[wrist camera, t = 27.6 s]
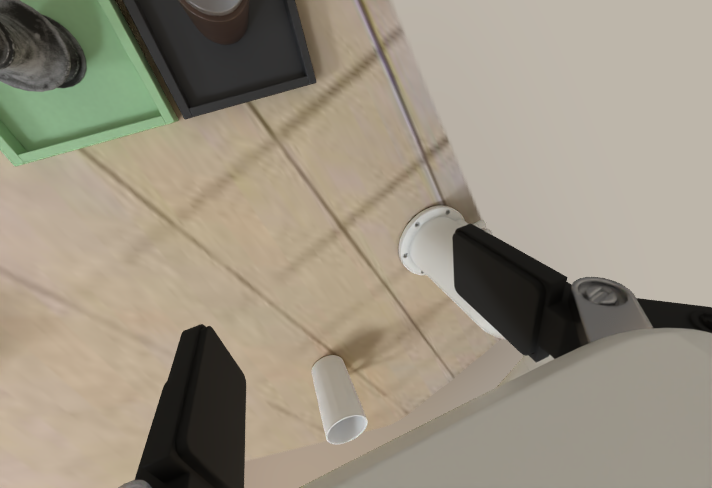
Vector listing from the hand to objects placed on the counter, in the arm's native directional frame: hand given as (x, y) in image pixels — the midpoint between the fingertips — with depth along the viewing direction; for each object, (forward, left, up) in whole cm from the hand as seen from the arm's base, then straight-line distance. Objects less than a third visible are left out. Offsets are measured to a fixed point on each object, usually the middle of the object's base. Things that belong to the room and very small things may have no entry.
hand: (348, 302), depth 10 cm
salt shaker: (+14, -14, -27) cm, 34 cm away
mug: (+5, +40, -28) cm, 49 cm away
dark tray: (0, -14, -28) cm, 31 cm away
